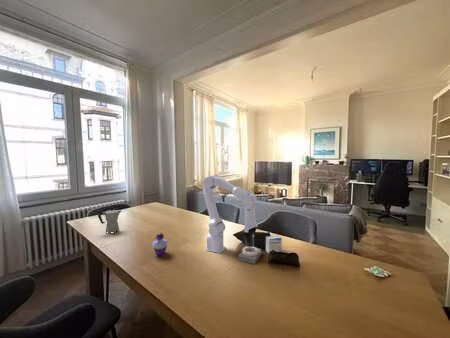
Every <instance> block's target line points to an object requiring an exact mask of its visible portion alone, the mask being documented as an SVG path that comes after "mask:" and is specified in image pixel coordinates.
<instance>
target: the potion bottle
mask: <svg viewBox="0 0 450 338" xmlns="http://www.w3.org/2000/svg"><path fill="white" fill-rule="evenodd" d="M155 239H156V240H154V241H153V242H152V243H151V244H152V248H153V249H154V253H155V254H154V255H155V256H156V255H157V256H156V257H163V256H165V255H166V251H167V247H168V243H169V241H168V240H167V239H165V234H164V233H163V232H158V233H156V236H155ZM164 254H165V255H164ZM162 255H163V256H162Z"/></svg>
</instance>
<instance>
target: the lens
mask: <svg viewBox="0 0 450 338" xmlns="http://www.w3.org/2000/svg"><path fill="white" fill-rule="evenodd" d="M254 244H255V235H254V232H253V234H252V240H251V243H247V241H246V240H245V247H246V246H248V247H255V245H254Z"/></svg>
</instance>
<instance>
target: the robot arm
mask: <svg viewBox="0 0 450 338" xmlns="http://www.w3.org/2000/svg"><path fill="white" fill-rule="evenodd" d="M218 186H219V187H222V188H224V189H226V190H228V191H229V192H232V195H233V197H236V198H237V199H238V200H240V201H241V202H243V205H244V229H242V233H243V234H244V236H245V242H246V241H247V243H251V240H252V234H253V232H254V236H255V235H256V234H255V233H256V231H257V229H258V226H259V225H258V224H257V223H256V221H257V219H256V214H257V213H256V203H257V201H258V197H257V195H256V194H255V193H254V192H250V191H247V190H245V189H244V188H243V187H242V186H235V185H234V184H232V183H231V182H229V181H227V180H226V179H224V178H223V177H222V176H220V175H219V174H212V175H207V176H204V179H202V193H203V197H204V201H205V205H206V208H207V209H206V210H207V213H208V216H209V223H208V234H207V235H206V251H208V252H214V253H218V254H222V253H223V251H225V250H226V249H227V246H225V245H224V231H225V230H226V225H225V223H224V221H223V219H222V218H221V217H220V214H219V212H218V208H217V205H216V204H217V203H216V200H215V196H214V190H215V188H216V187H218Z"/></svg>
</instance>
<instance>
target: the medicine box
mask: <svg viewBox="0 0 450 338" xmlns="http://www.w3.org/2000/svg"><path fill="white" fill-rule="evenodd" d="M282 243H283V240H282V237H281V236H280V235H272V236H271V235H270V236H265V252H266V253H268V254H269V252H270V251H272V250H274V251H278V252H281V253H282V246H283V244H282Z"/></svg>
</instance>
